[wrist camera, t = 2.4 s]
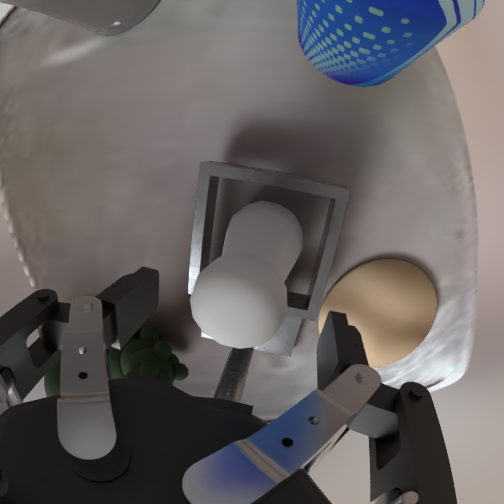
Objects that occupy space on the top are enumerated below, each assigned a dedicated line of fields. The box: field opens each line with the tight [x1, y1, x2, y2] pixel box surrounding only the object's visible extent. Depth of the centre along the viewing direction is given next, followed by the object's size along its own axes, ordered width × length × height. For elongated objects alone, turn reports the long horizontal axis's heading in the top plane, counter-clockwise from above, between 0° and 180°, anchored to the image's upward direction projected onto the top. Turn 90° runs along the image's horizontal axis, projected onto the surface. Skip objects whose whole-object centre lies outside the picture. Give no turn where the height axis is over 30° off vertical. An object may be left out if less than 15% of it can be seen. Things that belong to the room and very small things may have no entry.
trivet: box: [318, 259, 437, 368], centre depth 24 cm, size 12×12×1 cm
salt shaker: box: [190, 200, 303, 349], centre depth 17 cm, size 6×6×13 cm
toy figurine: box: [44, 326, 189, 397], centre depth 23 cm, size 9×19×25 cm
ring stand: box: [188, 161, 350, 403], centre depth 14 cm, size 16×10×22 cm, turn 171°
